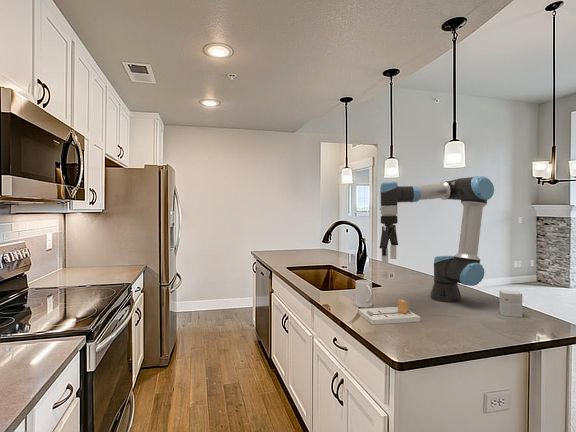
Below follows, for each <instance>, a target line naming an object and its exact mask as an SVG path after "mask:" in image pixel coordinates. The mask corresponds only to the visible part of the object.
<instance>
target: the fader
mask: <svg viewBox="0 0 576 432" xmlns="http://www.w3.org/2000/svg"><path fill="white" fill-rule="evenodd" d="M397 307H398V311H399V312H401V313H407V309H408V301H406V300H404V299H397Z"/></svg>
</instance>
